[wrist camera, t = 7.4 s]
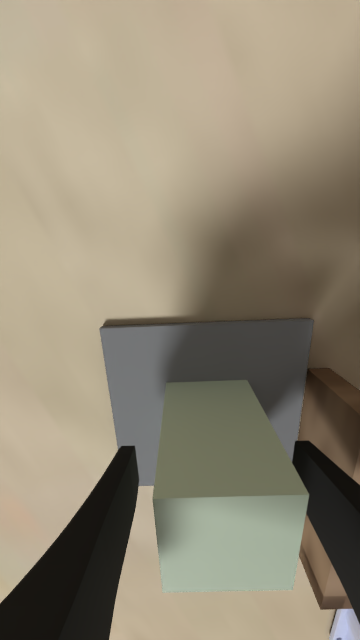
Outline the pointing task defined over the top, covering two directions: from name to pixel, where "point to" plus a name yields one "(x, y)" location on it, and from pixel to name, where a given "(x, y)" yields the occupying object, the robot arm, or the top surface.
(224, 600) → the top surface
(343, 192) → the top surface
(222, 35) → the top surface
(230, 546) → the block
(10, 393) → the top surface
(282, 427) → the mat
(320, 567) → the wooden u-shaped shelf
